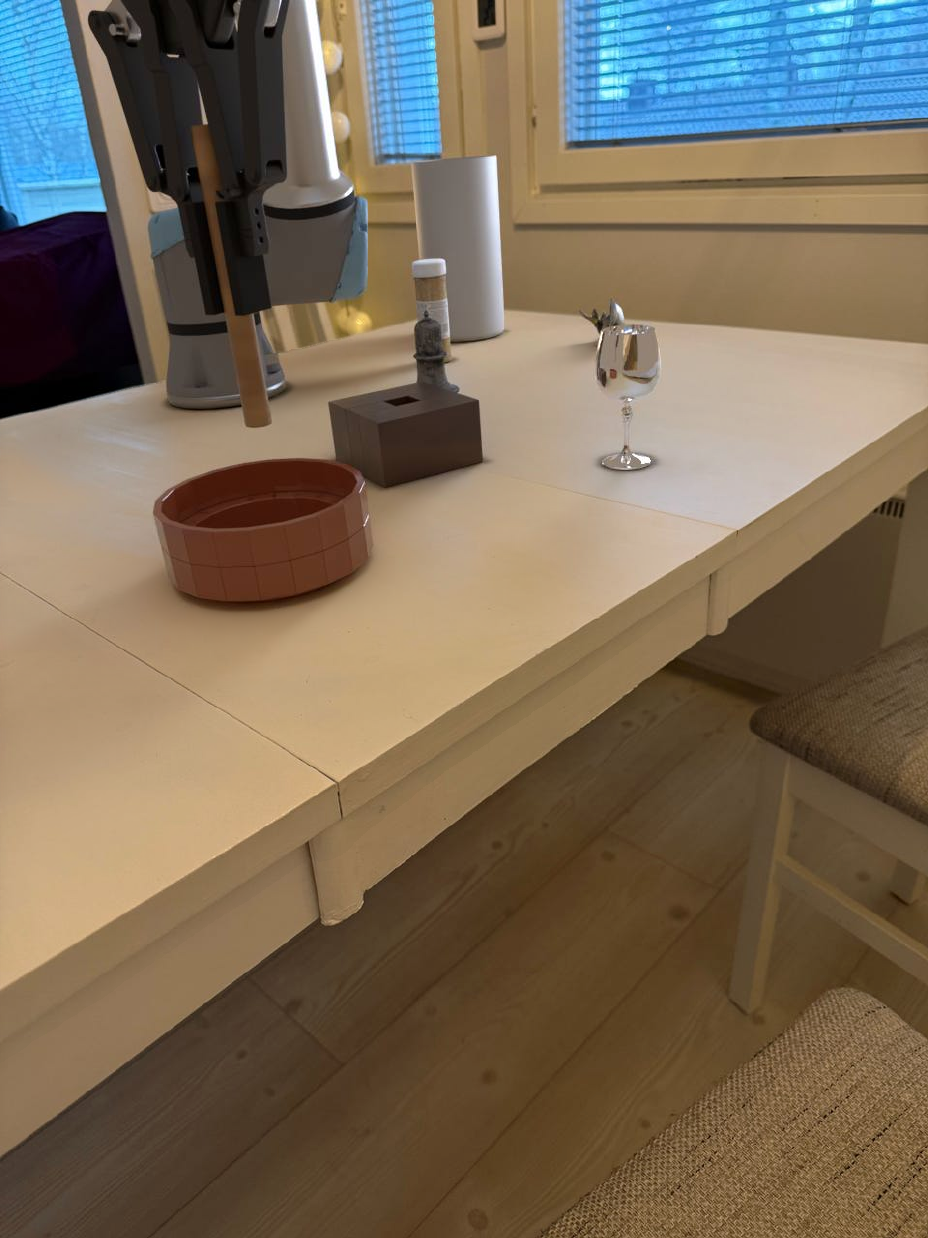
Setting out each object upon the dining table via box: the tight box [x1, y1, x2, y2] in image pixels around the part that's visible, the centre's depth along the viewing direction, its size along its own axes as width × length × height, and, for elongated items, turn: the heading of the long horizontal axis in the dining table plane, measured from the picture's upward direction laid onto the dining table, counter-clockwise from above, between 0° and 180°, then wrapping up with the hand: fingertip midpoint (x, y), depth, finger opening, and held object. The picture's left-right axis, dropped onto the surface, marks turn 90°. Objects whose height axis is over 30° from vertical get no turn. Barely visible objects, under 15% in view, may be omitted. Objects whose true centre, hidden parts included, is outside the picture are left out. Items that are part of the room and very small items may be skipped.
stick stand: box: [327, 381, 484, 488], centre depth 89 cm, size 11×11×6 cm
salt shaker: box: [412, 310, 460, 393], centre depth 99 cm, size 6×6×12 cm
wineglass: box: [594, 323, 662, 471], centre depth 82 cm, size 6×6×12 cm
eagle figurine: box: [578, 298, 627, 336], centre depth 130 cm, size 8×7×9 cm
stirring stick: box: [190, 123, 273, 429], centre depth 58 cm, size 2×2×18 cm
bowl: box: [152, 457, 374, 603], centre depth 68 cm, size 15×15×6 cm
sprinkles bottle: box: [411, 259, 453, 363], centre depth 126 cm, size 5×5×14 cm
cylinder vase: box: [410, 154, 505, 343], centre depth 139 cm, size 12×12×25 cm
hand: (238, 310), depth 59 cm, fingers closed on stirring stick, 2 cm apart
